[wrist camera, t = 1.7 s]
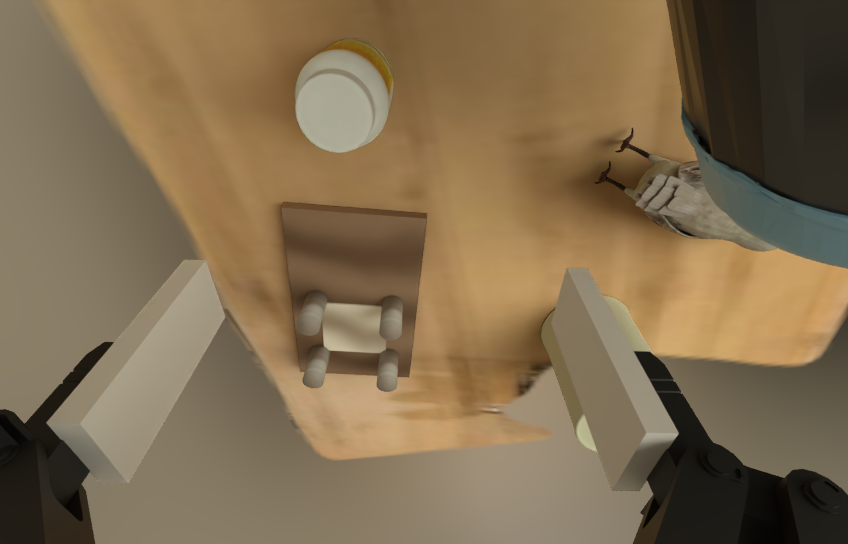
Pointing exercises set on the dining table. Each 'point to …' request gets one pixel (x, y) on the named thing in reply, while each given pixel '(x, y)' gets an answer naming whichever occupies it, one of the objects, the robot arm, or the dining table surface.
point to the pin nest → (353, 289)
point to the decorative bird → (683, 202)
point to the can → (563, 374)
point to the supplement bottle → (344, 95)
